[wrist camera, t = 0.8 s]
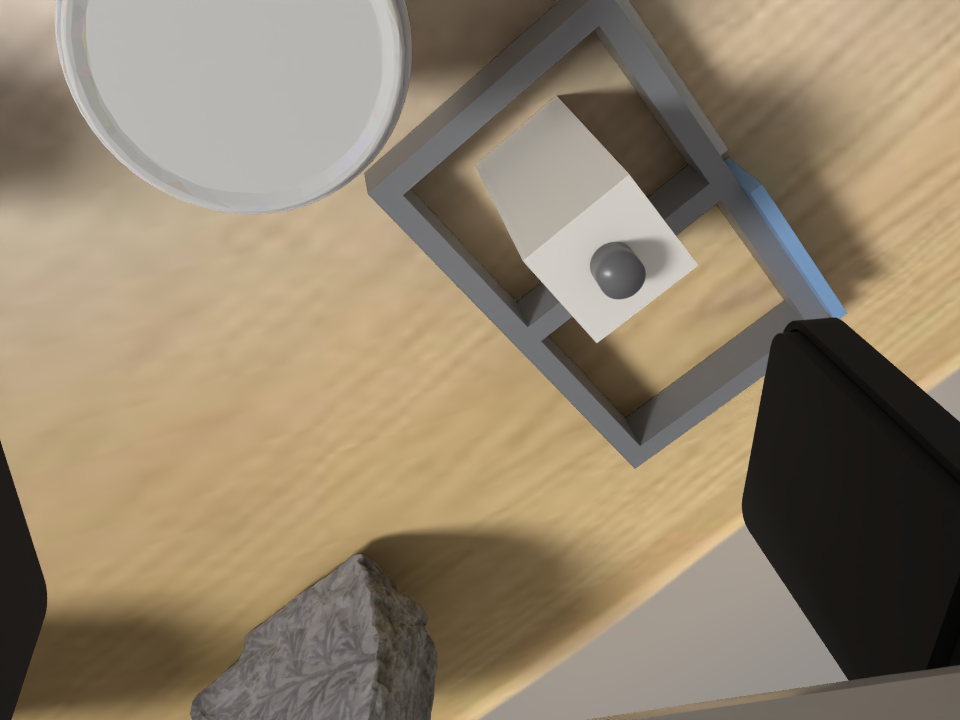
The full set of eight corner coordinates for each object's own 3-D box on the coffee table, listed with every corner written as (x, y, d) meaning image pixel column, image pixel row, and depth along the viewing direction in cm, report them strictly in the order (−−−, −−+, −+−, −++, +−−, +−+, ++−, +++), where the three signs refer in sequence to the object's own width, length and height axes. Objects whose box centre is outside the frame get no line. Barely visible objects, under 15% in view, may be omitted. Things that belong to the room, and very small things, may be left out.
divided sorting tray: (599, -35, 35) (626, -21, 33) (819, 293, 45) (856, 326, 42) (364, 173, 38) (369, 202, 35) (620, 440, 48) (641, 481, 45)
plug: (556, 95, 38) (640, 186, 28) (614, 171, 40) (711, 279, 31) (474, 165, 39) (530, 276, 29) (536, 235, 41) (606, 360, 32)
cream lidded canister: (407, -111, 33) (453, -81, 23) (354, 133, 37) (374, 251, 27) (139, -194, 30) (58, -201, 20) (116, 80, 35) (38, 187, 25)
